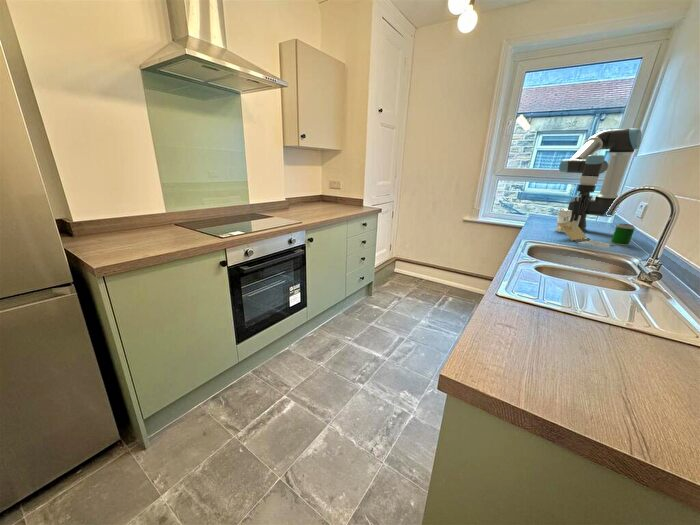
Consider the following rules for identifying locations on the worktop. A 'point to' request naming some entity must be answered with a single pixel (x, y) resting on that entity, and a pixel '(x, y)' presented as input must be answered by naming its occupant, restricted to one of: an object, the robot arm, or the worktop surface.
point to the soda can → (623, 234)
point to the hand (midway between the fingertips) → (574, 226)
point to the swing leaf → (573, 232)
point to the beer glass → (563, 218)
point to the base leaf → (596, 243)
